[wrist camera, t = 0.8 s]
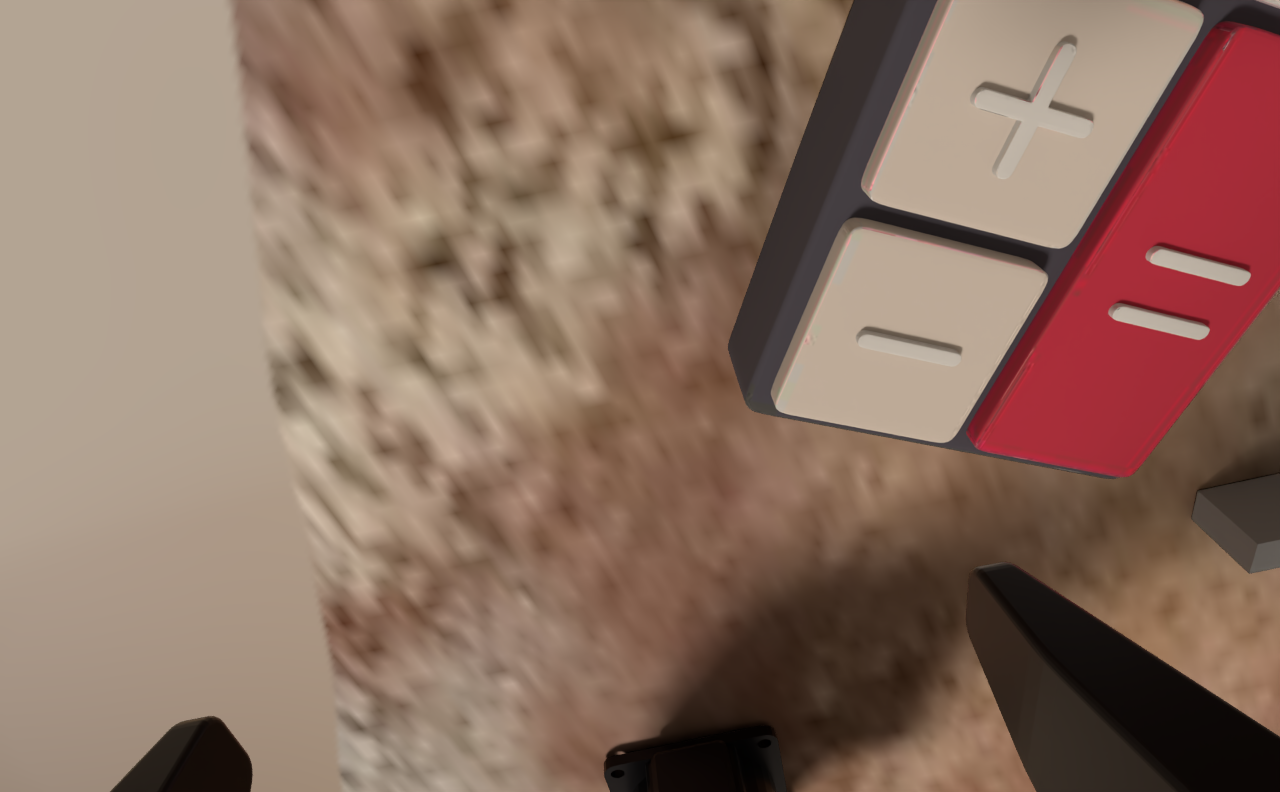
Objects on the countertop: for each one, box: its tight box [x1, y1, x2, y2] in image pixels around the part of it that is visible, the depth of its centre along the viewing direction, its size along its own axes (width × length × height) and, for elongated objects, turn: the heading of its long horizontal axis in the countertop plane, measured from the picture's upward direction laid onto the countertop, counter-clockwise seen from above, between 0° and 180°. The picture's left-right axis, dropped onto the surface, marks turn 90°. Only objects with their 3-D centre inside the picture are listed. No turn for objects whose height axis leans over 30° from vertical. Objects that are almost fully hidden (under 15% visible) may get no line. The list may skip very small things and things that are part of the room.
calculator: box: [728, 0, 1280, 479], centre depth 17 cm, size 11×4×15 cm
